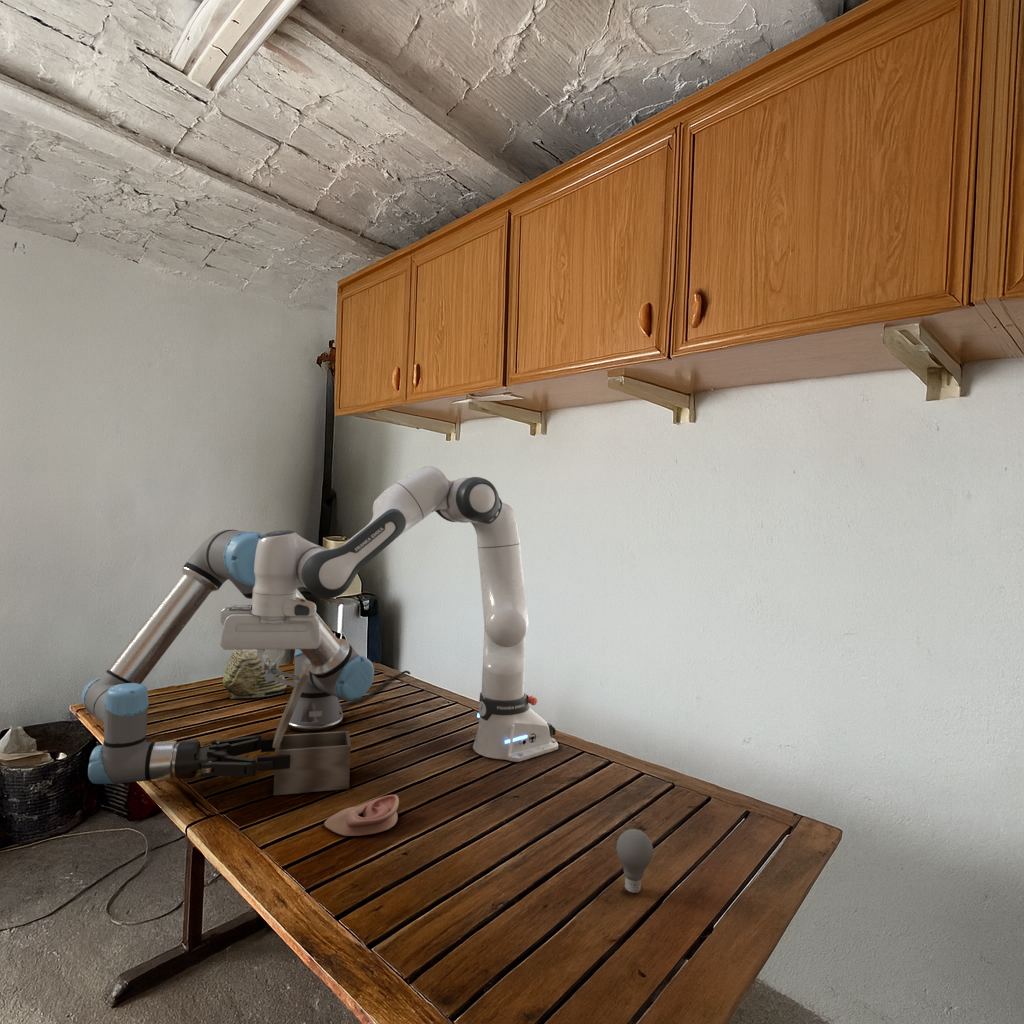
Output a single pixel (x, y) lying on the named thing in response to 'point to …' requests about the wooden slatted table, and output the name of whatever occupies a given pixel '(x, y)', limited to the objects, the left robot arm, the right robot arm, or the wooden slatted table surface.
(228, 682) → the fossil
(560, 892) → the wooden slatted table surface
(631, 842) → the light bulb
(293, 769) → the chest
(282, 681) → the lid
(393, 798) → the anatomical model
